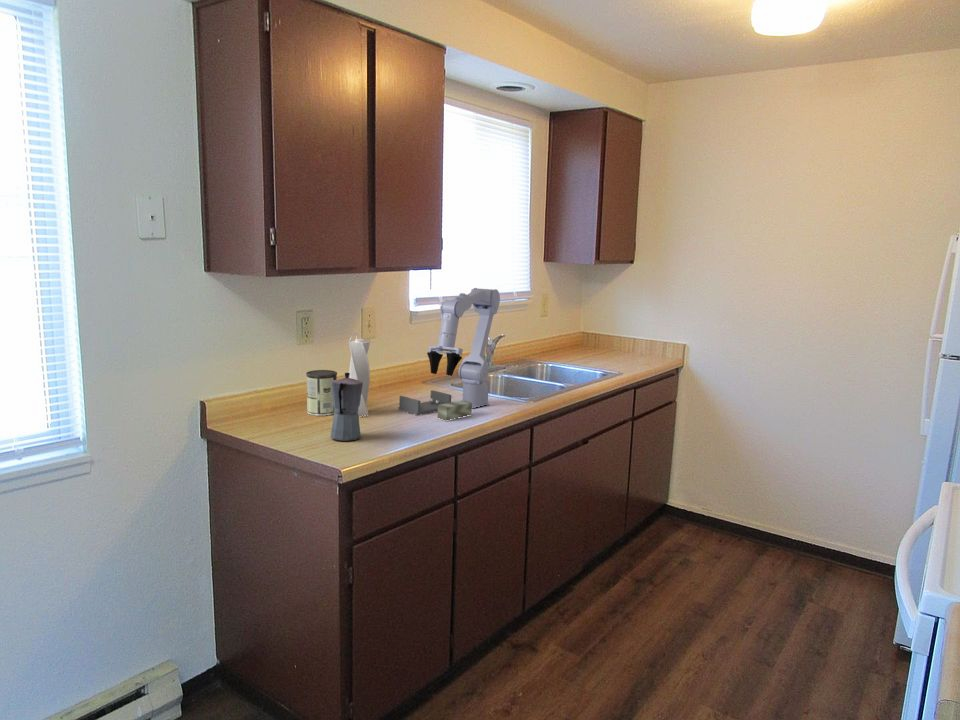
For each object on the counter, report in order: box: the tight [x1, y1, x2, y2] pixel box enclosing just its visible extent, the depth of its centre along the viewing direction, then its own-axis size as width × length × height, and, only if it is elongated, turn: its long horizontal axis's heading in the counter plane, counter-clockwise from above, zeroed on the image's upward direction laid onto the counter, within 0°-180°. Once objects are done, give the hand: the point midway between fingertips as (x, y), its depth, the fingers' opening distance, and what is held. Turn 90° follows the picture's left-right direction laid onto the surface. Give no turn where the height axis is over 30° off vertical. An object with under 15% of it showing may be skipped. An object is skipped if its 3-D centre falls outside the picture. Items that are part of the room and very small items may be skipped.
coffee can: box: [305, 369, 338, 417], centre depth 229 cm, size 10×10×14 cm
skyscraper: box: [348, 333, 371, 418], centre depth 227 cm, size 8×8×28 cm
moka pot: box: [329, 372, 363, 442], centre depth 199 cm, size 10×15×20 cm, turn 2°
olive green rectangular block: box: [436, 399, 473, 421], centre depth 230 cm, size 12×4×5 cm, turn 136°
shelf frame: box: [397, 389, 452, 416], centre depth 240 cm, size 17×10×5 cm, turn 137°
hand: (441, 374), depth 224 cm, fingers open, 7 cm apart
